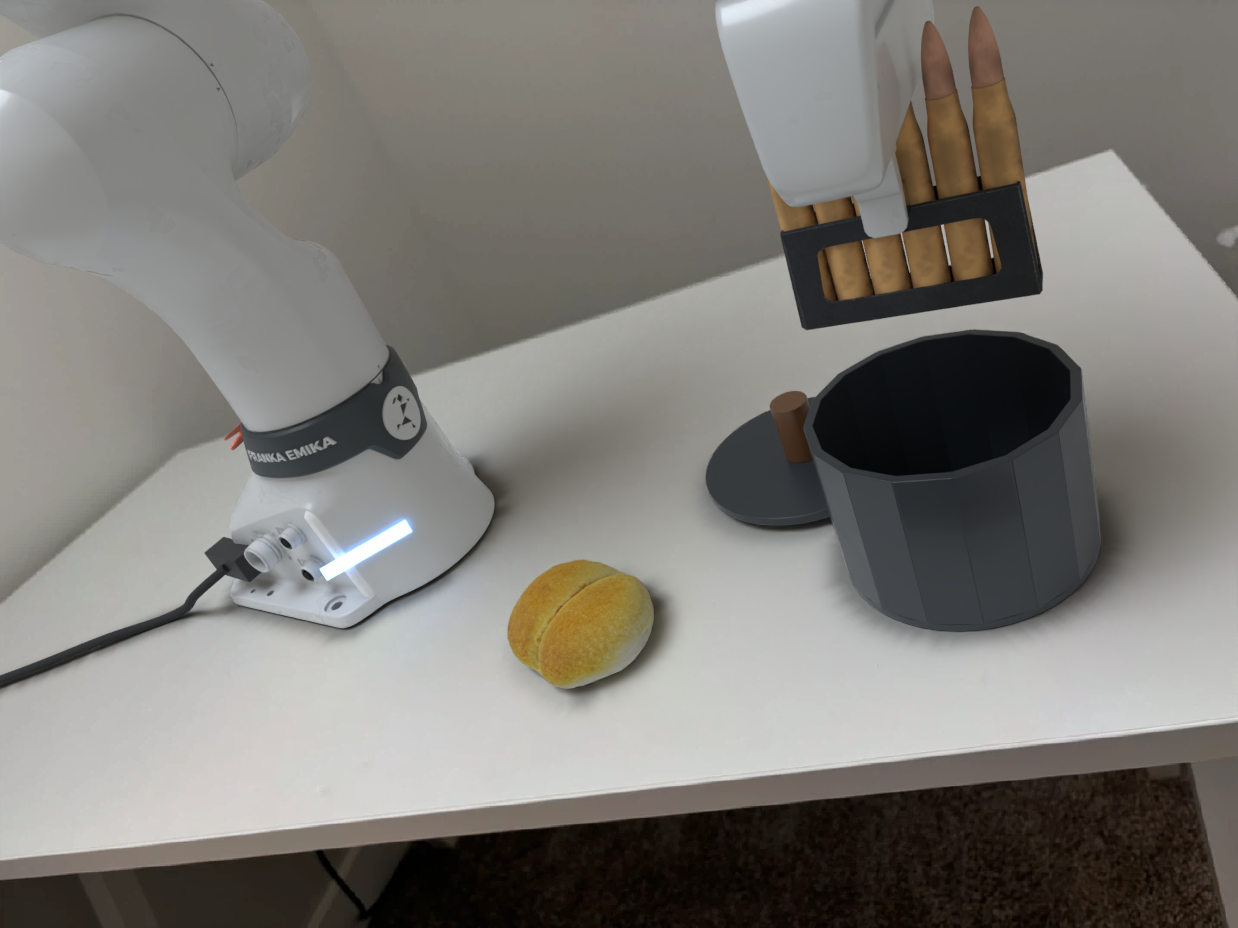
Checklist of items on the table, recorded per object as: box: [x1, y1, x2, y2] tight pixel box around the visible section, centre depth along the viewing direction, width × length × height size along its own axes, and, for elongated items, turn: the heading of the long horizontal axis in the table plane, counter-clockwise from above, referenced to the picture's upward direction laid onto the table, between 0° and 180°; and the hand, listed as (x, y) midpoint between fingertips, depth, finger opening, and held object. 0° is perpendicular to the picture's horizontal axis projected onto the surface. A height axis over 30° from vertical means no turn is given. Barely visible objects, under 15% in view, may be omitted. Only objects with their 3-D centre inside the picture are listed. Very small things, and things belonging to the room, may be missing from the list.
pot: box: [803, 328, 1102, 632], centre depth 49 cm, size 13×13×10 cm
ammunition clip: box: [766, 5, 1044, 331], centre depth 41 cm, size 11×2×12 cm, turn 69°
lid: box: [705, 390, 830, 527], centre depth 61 cm, size 13×13×5 cm
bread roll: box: [506, 559, 655, 690], centre depth 55 cm, size 8×9×4 cm
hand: (894, 213), depth 42 cm, fingers closed on ammunition clip, 2 cm apart
